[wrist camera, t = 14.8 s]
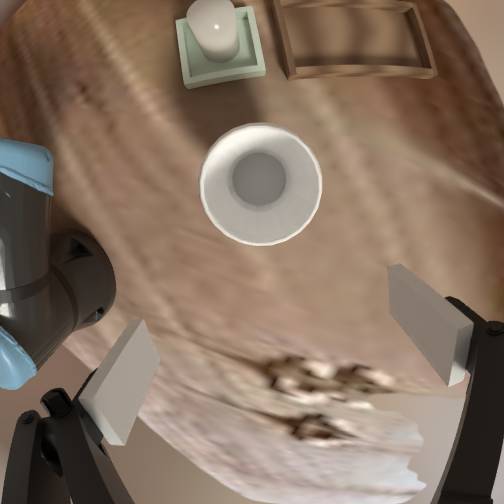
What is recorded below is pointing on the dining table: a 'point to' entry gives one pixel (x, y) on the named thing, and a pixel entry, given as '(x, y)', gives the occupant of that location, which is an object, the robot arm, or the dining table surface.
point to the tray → (352, 39)
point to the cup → (260, 183)
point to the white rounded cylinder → (215, 29)
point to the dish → (240, 67)
